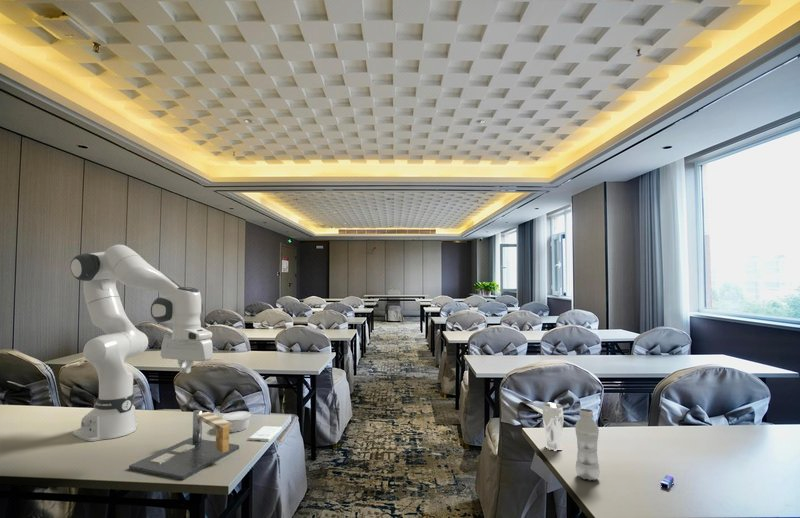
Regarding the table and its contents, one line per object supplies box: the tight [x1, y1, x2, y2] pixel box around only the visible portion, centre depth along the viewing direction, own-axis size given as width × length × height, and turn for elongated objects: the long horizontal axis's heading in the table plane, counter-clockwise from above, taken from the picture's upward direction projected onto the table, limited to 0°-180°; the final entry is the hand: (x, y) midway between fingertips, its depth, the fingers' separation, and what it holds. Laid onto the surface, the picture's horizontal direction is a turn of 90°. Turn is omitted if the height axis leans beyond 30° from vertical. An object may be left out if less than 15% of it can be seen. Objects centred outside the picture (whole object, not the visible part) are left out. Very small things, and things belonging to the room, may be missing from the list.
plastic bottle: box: [574, 408, 601, 481], centre depth 121 cm, size 6×7×20 cm
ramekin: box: [220, 410, 252, 433], centre depth 163 cm, size 11×11×5 cm
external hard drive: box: [247, 425, 283, 442], centre depth 155 cm, size 2×8×12 cm
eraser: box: [660, 474, 675, 490], centre depth 116 cm, size 2×6×2 cm, turn 133°
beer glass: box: [542, 402, 564, 451], centre depth 143 cm, size 7×7×15 cm
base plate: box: [128, 409, 240, 481], centre depth 135 cm, size 22×24×12 cm
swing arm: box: [197, 411, 233, 453], centre depth 139 cm, size 20×4×8 cm, turn 49°
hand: (185, 372), depth 141 cm, fingers closed
